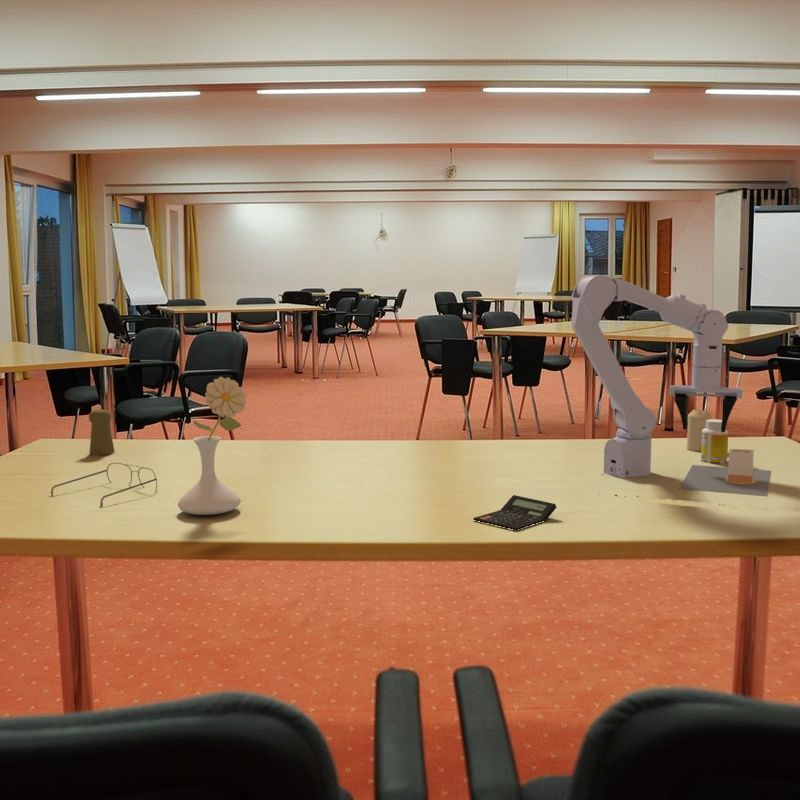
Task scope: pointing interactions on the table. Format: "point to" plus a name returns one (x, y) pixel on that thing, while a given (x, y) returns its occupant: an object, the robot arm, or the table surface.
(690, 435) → the beige bottle
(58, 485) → the eyeglasses
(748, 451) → the sleeve
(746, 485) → the pin board
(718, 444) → the supplement bottle
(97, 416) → the brown tapered column
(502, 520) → the calculator
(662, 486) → the table surface
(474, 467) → the table surface
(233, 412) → the flower in vase
